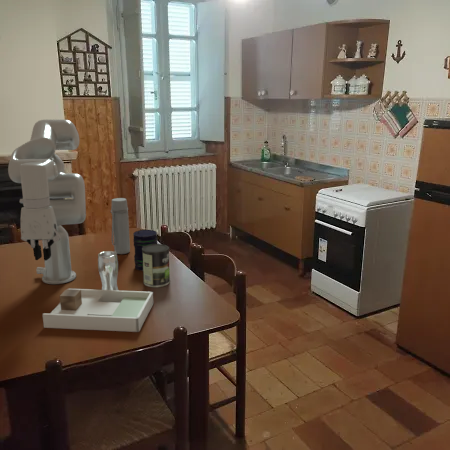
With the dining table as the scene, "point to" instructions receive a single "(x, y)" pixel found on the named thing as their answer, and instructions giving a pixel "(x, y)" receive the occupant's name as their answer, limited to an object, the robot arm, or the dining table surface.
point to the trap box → (104, 311)
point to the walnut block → (70, 299)
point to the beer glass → (108, 269)
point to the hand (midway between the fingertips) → (43, 258)
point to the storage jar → (142, 245)
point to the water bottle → (120, 226)
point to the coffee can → (156, 265)
